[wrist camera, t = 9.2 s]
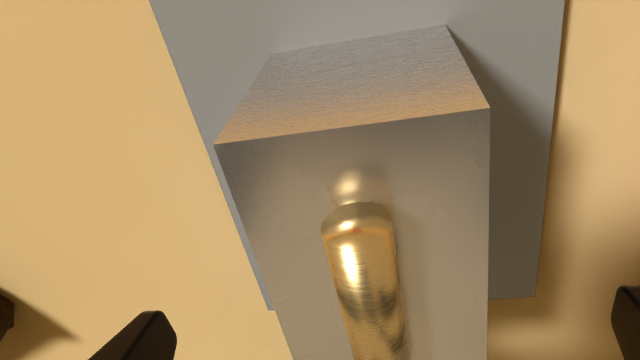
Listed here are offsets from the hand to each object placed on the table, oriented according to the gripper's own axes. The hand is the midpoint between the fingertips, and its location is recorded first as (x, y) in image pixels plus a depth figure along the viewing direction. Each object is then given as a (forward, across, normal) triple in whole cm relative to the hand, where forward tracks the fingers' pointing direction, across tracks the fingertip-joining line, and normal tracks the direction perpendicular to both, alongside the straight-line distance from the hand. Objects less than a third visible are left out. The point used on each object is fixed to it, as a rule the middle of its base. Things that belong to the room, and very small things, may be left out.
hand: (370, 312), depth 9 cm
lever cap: (+5, 0, 0) cm, 5 cm away
